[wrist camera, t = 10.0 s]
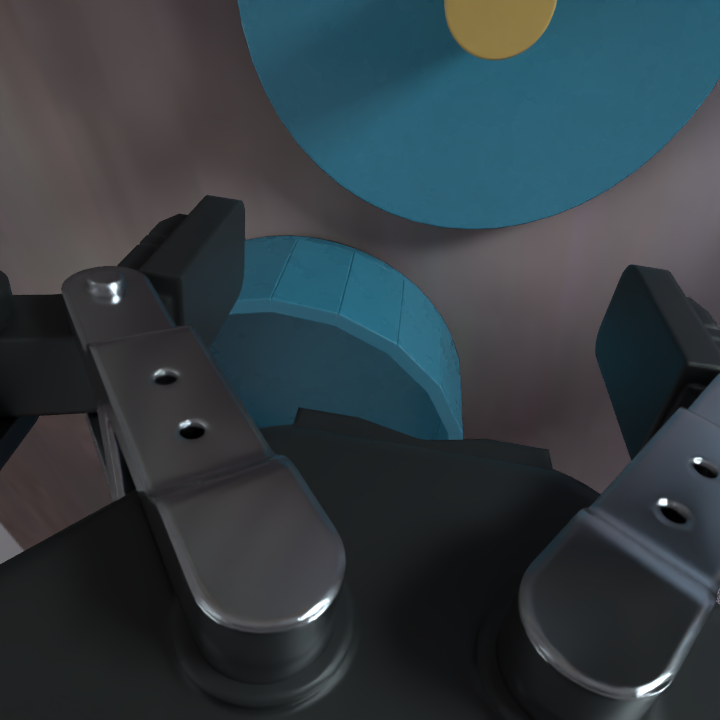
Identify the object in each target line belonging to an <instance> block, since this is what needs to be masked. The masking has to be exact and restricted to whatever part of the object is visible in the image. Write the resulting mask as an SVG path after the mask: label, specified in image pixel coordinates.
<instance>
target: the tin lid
mask: <svg viewBox="0 0 720 720" xmlns="http://www.w3.org/2000/svg"><path fill="white" fill-rule="evenodd" d="M238 6H239V12H240V18H241V24H242V28H243V31H244V35H245V38H246V42H247V45H248V49H249V52H250V56H251V59H252V62H253V64H254V67H255V69H256V71H257V74H258V76H259V79H260V81H261V83H262V86H263V88H264V91H265V93H266V94H267V96H268V98H269V100H270V102H271V103H272V105H273V107H274V109H275V111H276V112H277V114H278V116H279V118H280V120H281V121H282V122H283V124H284V125H285V127H286V128H287V129H288V131H289V132H290V133H291V135H292V136H293V138H294V139H295V140H296V142H297V143H298V145H299V146H300V147H301V148H302V149H303V150H304V151H305V152H306V153H307V154H308V155H309V157H310V158H311V159H312V160H313V161H314V162H315V163H316V164H317V165H318V166H319V167H320V168H321V169H322V170H323V171H325V172H326V173H327V174H328V175H329V176H330V177H332V178H333V179H334V180H335V181H336V182H337V183H339V184H340V185H341V186H343V187H344V188H346V189H347V190H349V191H350V192H352V193H353V194H355V195H356V196H358V197H359V198H361V199H362V200H364V201H366V202H368V203H370V204H372V205H374V206H376V207H378V208H380V209H382V210H384V211H386V212H388V213H391V214H394V215H397V216H400V217H403V218H406V219H409V220H412V221H415V222H420V223H424V224H429V225H434V226H438V227H447V228H459V229H489V228H501V227H507V226H513V225H520V224H525V223H529V222H532V221H536V220H540V219H543V218H547V217H550V216H553V215H556V214H558V213H561V212H563V211H566V210H568V209H571V208H573V207H576V206H578V205H581V204H583V203H584V202H586V201H588V200H590V199H592V198H594V197H596V196H597V195H599V194H601V193H603V192H605V191H607V190H608V189H610V188H611V187H613V186H614V185H616V184H617V183H619V182H620V181H622V180H623V179H625V178H626V177H627V176H629V175H630V174H632V173H633V172H635V171H636V170H637V169H639V168H640V167H641V166H642V165H643V164H644V163H646V162H647V161H648V160H649V159H650V158H651V157H653V156H654V155H655V154H656V153H657V152H658V151H660V150H661V149H662V148H663V147H664V146H665V145H666V144H667V143H668V142H669V141H670V140H671V139H672V137H673V136H674V135H675V134H676V133H677V132H678V131H679V130H680V129H681V128H682V127H683V126H684V125H685V124H686V123H687V122H688V120H689V119H690V118H691V117H692V115H693V114H694V113H695V111H696V110H697V109H698V108H699V106H700V105H701V104H702V102H703V101H704V100H705V98H706V97H707V96H708V95H709V93H710V92H711V90H712V89H713V87H714V86H715V84H716V82H717V81H718V79H719V78H720V0H238Z"/></svg>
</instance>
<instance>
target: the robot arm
mask: <svg viewBox="0 0 720 720" xmlns="http://www.w3.org/2000/svg"><path fill="white" fill-rule="evenodd" d="M244 260H245V208H244V204H243V202H242V201H241V200H235V199H228V198H222V197H216V196H210V195H206V196H205V197H204V198H203V199H202V200H201V201H200V202H199V204H198V205H197V206H196V207H195V208H194V209H193V210H192V211H191V212H190V214H189V215H184V214H177V215H175V216H173V217H170V218H168V219H165V220H163V221H161V222H159V223H158V224H157V225H156V226H155V227H154V228H153V229H152V230H151V231H150V233H149V235H147V236H146V237H145V238H144V239H143V240H142V241H141V242H140V245H137V246H136V247H135V248H134V249H133V250H132V251H131V252H130V253H129V254H128V255H127V256H126V257H125V258H124V259H123V260H122V261H121V262H120V263H119V264H118V265H117V266H102V267H94V268H89V269H86V270H82V271H80V272H77V273H75V274H73V275H71V276H70V277H69V278H67V279H66V280H65V281H64V283H63V285H62V288H61V290H62V294H54V295H12V292H11V288H10V284H9V280H8V277H7V276H6V275H5V274H4V273H3V272H2V271H0V470H1V469H2V468H3V466H4V465H5V464H6V462H7V461H8V459H9V458H10V457H11V455H12V454H13V453H14V451H15V450H16V448H17V447H18V446H19V444H20V443H21V442H22V440H23V439H24V438H25V436H26V435H27V433H28V432H29V431H30V429H31V428H32V427H33V425H34V424H35V422H36V421H37V419H38V418H39V416H44V415H62V414H79V413H85V417H86V421H87V424H88V427H89V430H90V433H91V436H92V439H93V442H94V445H95V448H96V451H97V454H98V457H99V460H100V463H101V466H102V469H103V472H104V475H105V478H106V481H107V484H108V487H109V490H110V494H111V498H112V503H111V504H109V505H107V506H105V507H103V508H101V509H100V510H98V511H96V512H94V513H92V514H91V515H89V516H87V517H85V518H83V519H82V520H80V521H78V522H76V523H74V524H72V525H71V526H69V527H67V528H65V529H63V530H62V531H60V532H58V533H56V534H54V535H53V536H51V537H49V538H47V539H45V540H44V541H42V542H40V543H38V544H36V545H34V546H33V547H31V548H29V549H27V550H25V551H24V552H22V553H20V554H18V555H16V556H15V557H13V558H11V559H9V560H7V561H6V562H4V563H2V564H0V720H720V604H718V603H717V602H716V600H717V592H718V590H719V588H720V330H718V326H717V324H716V323H715V321H714V320H713V318H712V317H711V315H710V314H709V312H707V311H706V310H705V309H704V308H702V307H701V306H700V305H698V304H697V303H696V302H695V301H693V300H692V299H691V298H689V297H686V296H685V294H684V293H683V291H682V290H681V288H680V286H679V285H678V283H677V282H676V280H675V279H674V277H673V275H672V274H671V272H670V271H668V270H663V269H657V268H651V267H645V266H638V265H629V266H628V267H627V268H626V269H625V270H624V272H623V274H622V276H621V278H620V280H619V283H618V285H617V287H616V290H615V292H614V295H613V297H612V299H611V302H610V304H609V307H608V309H607V311H606V314H605V316H604V319H603V321H602V324H601V326H600V328H599V331H598V335H597V339H596V349H595V350H596V358H597V361H598V364H599V367H600V370H601V373H602V376H603V379H604V382H605V385H606V388H607V391H608V394H609V396H610V399H611V402H612V405H613V408H614V411H615V414H616V417H617V420H618V423H619V426H620V429H621V432H622V435H623V438H624V441H625V444H626V447H627V449H628V452H629V455H630V458H631V462H630V463H629V464H628V465H627V466H626V467H625V469H624V470H623V471H622V472H621V473H620V474H619V475H618V476H617V477H616V479H615V480H614V481H613V482H612V483H611V484H610V485H609V486H608V487H607V489H606V490H605V491H604V492H603V493H602V494H599V493H598V492H596V491H595V490H593V489H592V488H590V487H589V486H587V485H585V484H583V483H582V482H580V481H578V480H576V479H574V478H572V477H570V476H568V475H566V474H563V473H561V472H559V471H556V470H554V469H552V464H551V459H550V454H549V450H547V449H541V448H535V447H530V446H524V445H518V444H512V443H506V442H500V441H494V440H488V439H465V440H423V439H419V438H415V437H412V436H410V435H407V434H404V433H401V432H398V431H396V430H393V429H390V428H387V427H384V426H382V425H379V424H376V423H373V422H371V421H368V420H365V419H362V418H359V417H353V416H347V415H342V414H336V413H330V412H324V411H318V410H312V409H306V408H300V407H298V410H297V414H296V417H295V420H294V423H293V424H288V425H276V426H268V427H263V428H258V427H257V426H256V424H255V422H254V421H253V419H252V418H251V416H250V414H249V413H248V411H247V410H246V408H245V406H244V405H243V403H242V402H241V400H240V398H239V397H238V395H237V394H236V392H235V390H234V389H233V387H232V386H231V384H230V382H229V381H228V379H227V378H226V376H225V374H224V373H223V371H222V370H221V368H220V366H219V365H218V363H217V362H216V360H215V358H214V357H213V355H212V354H211V352H210V350H209V349H210V347H211V345H212V343H213V342H214V340H215V338H216V336H217V334H218V333H219V331H220V329H221V327H222V326H223V324H224V322H225V320H226V319H227V317H228V315H229V313H230V312H231V310H232V308H233V306H234V304H235V303H236V301H237V299H238V297H239V295H240V292H241V289H242V285H243V279H244Z"/></svg>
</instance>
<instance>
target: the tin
mask: <svg viewBox="0 0 720 720" xmlns="http://www.w3.org/2000/svg"><path fill="white" fill-rule="evenodd" d="M209 350H210V352H211V354H212V355H213V357H214V358H215V360H216V362H217V363H218V365H219V366H220V368H221V370H222V371H223V373H224V374H225V376H226V378H227V379H228V381H229V382H230V384H231V386H232V387H233V389H234V390H235V392H236V394H237V395H238V397H239V398H240V400H241V402H242V403H243V405H244V406H245V408H246V410H247V411H248V413H249V414H250V416H251V418H252V419H253V421H254V422H255V424H256V426H257V427H258V428H263V427H268V426H276V425H288V424H293V423H294V420H295V417H296V414H297V410H298V407H300V408H306V409H312V410H318V411H324V412H330V413H336V414H342V415H347V416H353V417H359V418H362V419H365V420H368V421H371V422H373V423H376V424H379V425H382V426H384V427H387V428H390V429H393V430H396V431H398V432H401V433H404V434H407V435H410V436H412V437H415V438H419V439H423V440H463V425H462V402H461V379H460V360H459V357H458V355H457V351H456V348H455V345H454V342H453V339H452V336H451V334H450V332H449V330H448V328H447V326H446V324H445V322H444V320H443V318H442V317H441V315H440V314H439V313H438V311H437V310H436V308H435V307H434V305H433V304H432V303H431V301H430V300H429V299H428V298H427V297H426V296H425V295H424V294H423V293H422V292H421V291H420V290H419V288H418V287H417V286H415V285H414V284H413V283H412V282H411V281H409V280H408V279H407V278H406V277H405V276H403V275H402V274H401V273H400V272H398V271H397V270H395V269H394V268H392V267H390V266H389V265H387V264H386V263H384V262H383V261H381V260H379V259H377V258H375V257H373V256H371V255H369V254H367V253H364V252H362V251H360V250H358V249H355V248H352V247H349V246H346V245H343V244H340V243H337V242H332V241H327V240H323V239H318V238H312V237H301V236H267V237H261V238H255V239H249V240H245V260H244V279H243V285H242V289H241V292H240V295H239V297H238V299H237V301H236V303H235V304H234V306H233V308H232V310H231V312H230V313H229V315H228V317H227V319H226V320H225V322H224V324H223V326H222V327H221V329H220V331H219V333H218V334H217V336H216V338H215V340H214V342H213V343H212V345H211V347H210V349H209Z"/></svg>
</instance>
